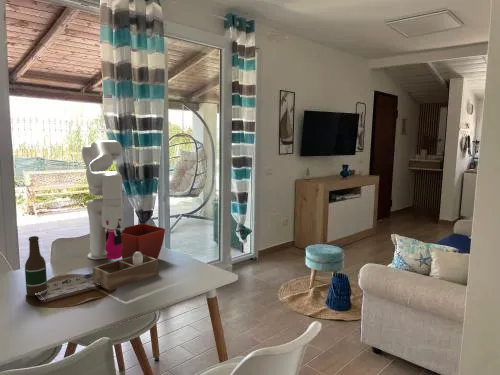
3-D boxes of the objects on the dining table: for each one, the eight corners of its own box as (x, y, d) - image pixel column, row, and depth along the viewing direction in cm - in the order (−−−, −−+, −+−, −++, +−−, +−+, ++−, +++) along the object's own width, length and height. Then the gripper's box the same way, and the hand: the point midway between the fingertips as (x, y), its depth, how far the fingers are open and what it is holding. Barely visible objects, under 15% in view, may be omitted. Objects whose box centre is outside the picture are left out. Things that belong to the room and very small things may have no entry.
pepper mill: (106, 260, 159) (105, 215, 156) (104, 255, 165) (103, 211, 162) (124, 258, 162) (123, 213, 159) (121, 253, 169) (120, 210, 165)
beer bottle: (44, 287, 160) (41, 233, 157) (50, 293, 155) (47, 237, 152) (24, 292, 155) (20, 236, 152) (29, 298, 150) (25, 240, 146)
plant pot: (137, 269, 184) (137, 236, 181) (113, 261, 194) (112, 230, 192) (166, 259, 199) (166, 228, 197) (142, 252, 210) (142, 223, 207)
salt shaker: (131, 274, 174) (130, 251, 173) (139, 271, 178) (138, 249, 176) (137, 276, 172) (136, 253, 170) (144, 274, 175) (144, 251, 173)
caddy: (93, 284, 164) (92, 267, 163) (141, 269, 184) (141, 253, 183) (109, 292, 156) (109, 274, 155) (158, 275, 176) (157, 259, 175)
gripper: (93, 200, 163) (95, 241, 165) (115, 205, 152) (117, 248, 155) (109, 198, 168) (110, 237, 171) (131, 203, 158) (132, 244, 160)
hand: (113, 242), depth 163 cm, fingers closed on pepper mill, 5 cm apart
